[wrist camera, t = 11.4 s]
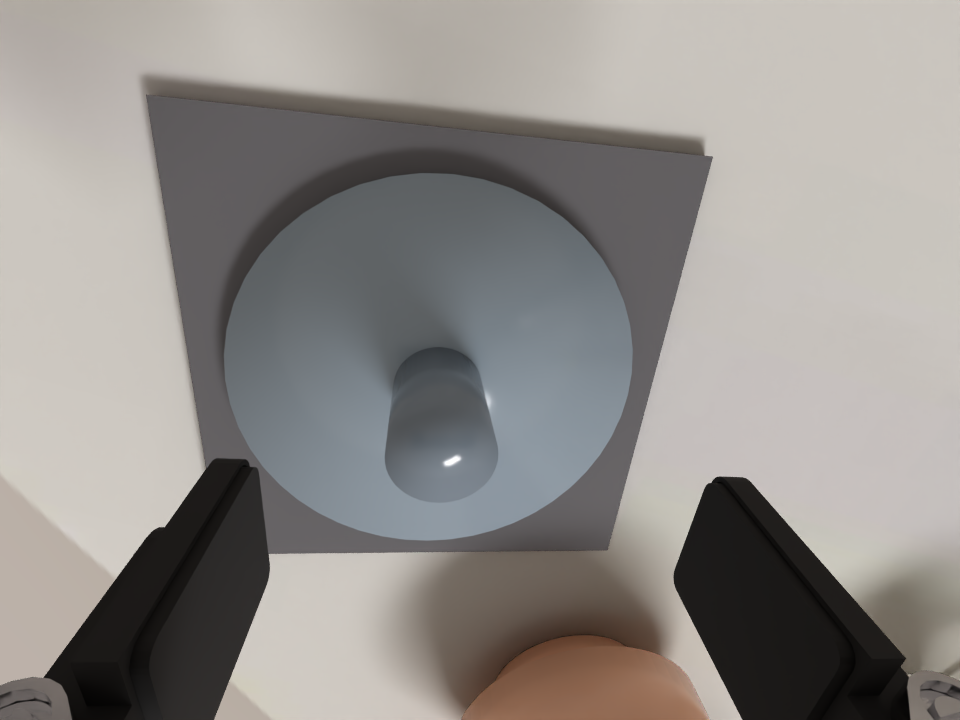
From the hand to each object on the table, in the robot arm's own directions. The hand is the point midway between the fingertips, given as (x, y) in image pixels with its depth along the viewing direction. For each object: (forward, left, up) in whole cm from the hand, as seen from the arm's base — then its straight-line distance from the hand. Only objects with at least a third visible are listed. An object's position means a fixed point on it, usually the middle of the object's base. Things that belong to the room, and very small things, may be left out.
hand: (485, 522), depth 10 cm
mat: (0, -1, -8) cm, 8 cm away
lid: (0, -1, -7) cm, 7 cm away
